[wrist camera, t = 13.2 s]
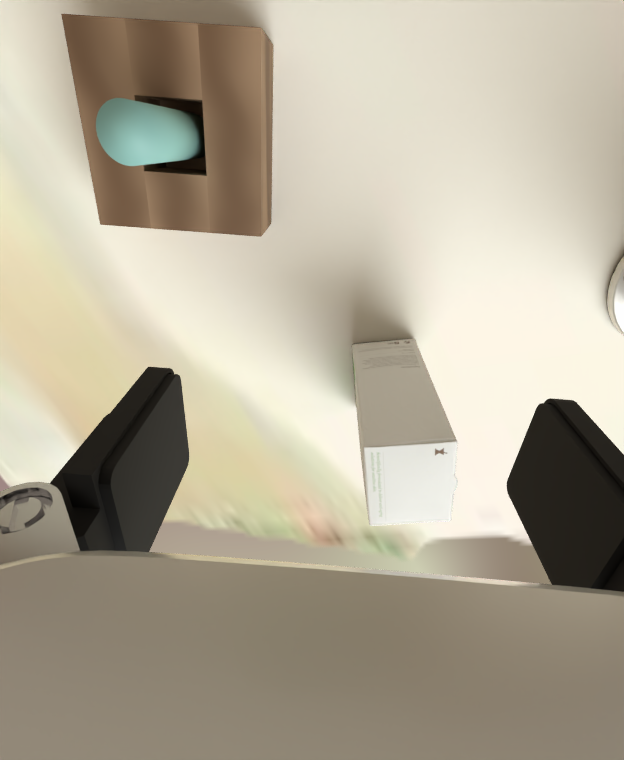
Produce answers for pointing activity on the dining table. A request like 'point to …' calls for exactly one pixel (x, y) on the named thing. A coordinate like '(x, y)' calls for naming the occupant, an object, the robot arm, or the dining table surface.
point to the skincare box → (402, 436)
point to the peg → (148, 133)
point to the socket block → (186, 93)
